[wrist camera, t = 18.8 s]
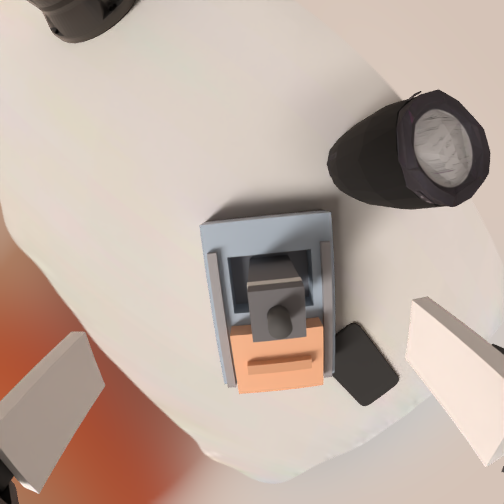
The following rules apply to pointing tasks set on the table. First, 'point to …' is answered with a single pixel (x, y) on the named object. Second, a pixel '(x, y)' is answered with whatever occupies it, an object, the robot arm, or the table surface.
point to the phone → (361, 366)
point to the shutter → (278, 360)
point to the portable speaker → (412, 155)
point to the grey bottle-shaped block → (275, 299)
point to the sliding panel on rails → (267, 245)
